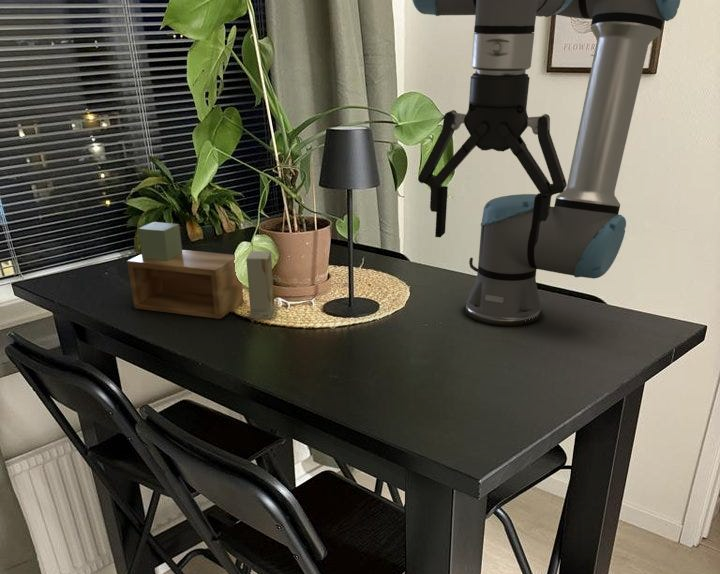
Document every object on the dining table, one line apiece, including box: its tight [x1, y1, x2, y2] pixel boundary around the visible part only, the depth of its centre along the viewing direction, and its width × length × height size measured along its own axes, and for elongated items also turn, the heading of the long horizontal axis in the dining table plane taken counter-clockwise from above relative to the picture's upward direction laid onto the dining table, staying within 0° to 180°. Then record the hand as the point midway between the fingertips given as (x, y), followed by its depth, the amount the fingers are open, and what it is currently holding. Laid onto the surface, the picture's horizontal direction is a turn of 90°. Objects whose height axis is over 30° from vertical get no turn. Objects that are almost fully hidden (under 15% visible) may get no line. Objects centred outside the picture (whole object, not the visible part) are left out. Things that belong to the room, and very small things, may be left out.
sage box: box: [137, 221, 183, 261], centre depth 155 cm, size 6×6×6 cm
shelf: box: [126, 249, 244, 320], centre depth 158 cm, size 11×20×10 cm, turn 72°
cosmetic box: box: [245, 250, 275, 319], centre depth 153 cm, size 6×4×12 cm
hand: (485, 239), depth 108 cm, fingers open, 13 cm apart
